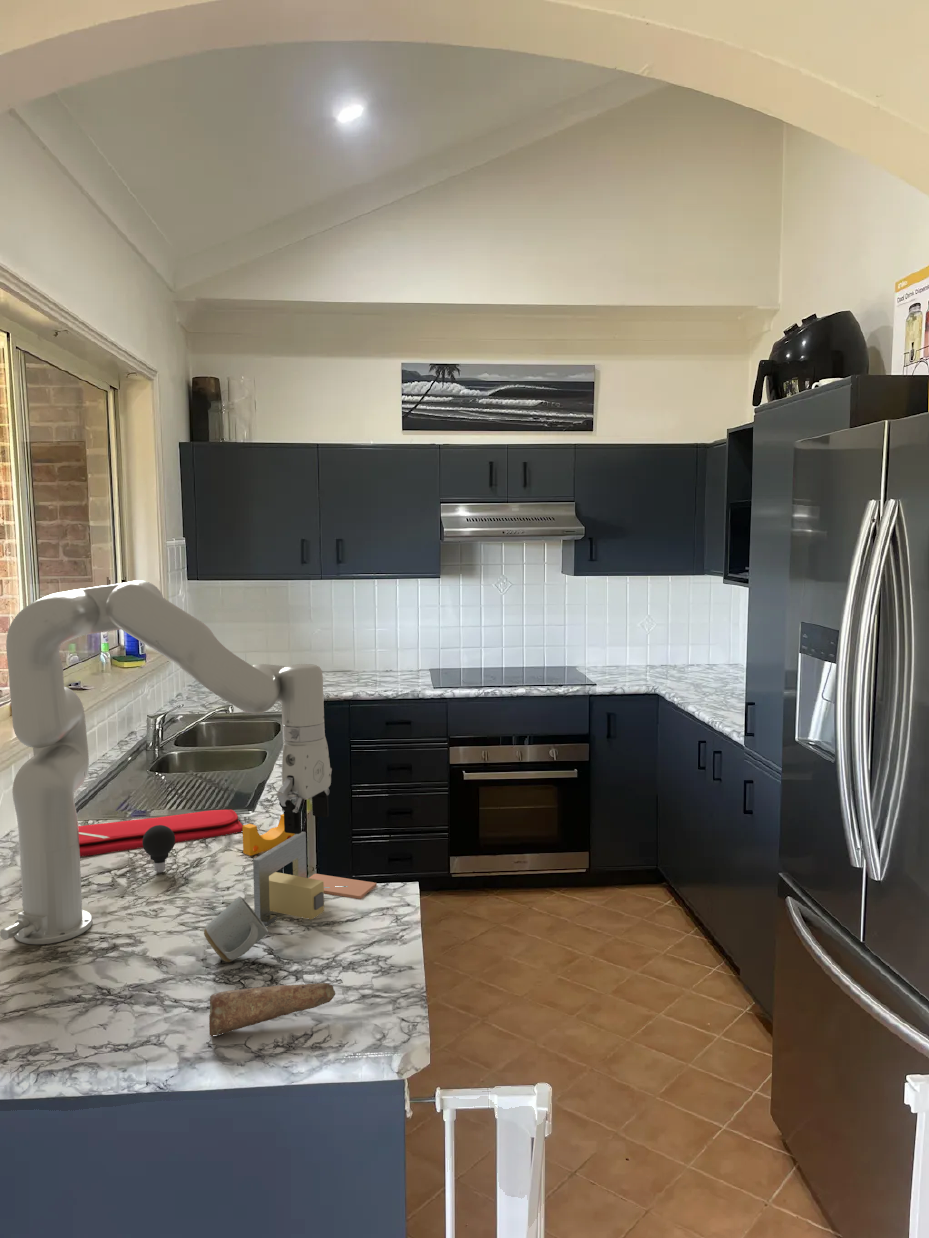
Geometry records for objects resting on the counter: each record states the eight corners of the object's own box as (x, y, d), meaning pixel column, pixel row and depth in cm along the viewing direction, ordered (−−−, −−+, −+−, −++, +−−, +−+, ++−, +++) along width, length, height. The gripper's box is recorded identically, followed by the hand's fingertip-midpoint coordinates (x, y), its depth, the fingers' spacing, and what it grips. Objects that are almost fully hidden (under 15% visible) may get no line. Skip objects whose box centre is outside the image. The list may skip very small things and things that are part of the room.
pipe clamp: (283, 838, 205) (282, 811, 205) (294, 842, 202) (294, 815, 202) (238, 852, 196) (237, 823, 196) (250, 857, 193) (249, 828, 193)
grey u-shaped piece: (267, 926, 159) (265, 861, 158) (248, 923, 160) (246, 858, 159) (313, 892, 174) (312, 833, 172) (295, 890, 175) (294, 830, 174)
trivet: (360, 899, 171) (360, 896, 170) (296, 889, 175) (296, 886, 175) (376, 885, 177) (376, 882, 177) (314, 876, 182) (314, 873, 182)
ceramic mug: (227, 963, 148) (200, 926, 149) (269, 930, 151) (242, 893, 152) (225, 970, 138) (196, 930, 139) (269, 935, 141) (240, 895, 142)
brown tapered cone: (204, 1025, 127) (203, 984, 126) (328, 999, 134) (327, 960, 133) (210, 1049, 121) (209, 1006, 120) (339, 1020, 128) (339, 980, 128)
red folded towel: (245, 835, 209) (244, 819, 208) (52, 864, 191) (51, 847, 190) (231, 816, 223) (230, 801, 222) (50, 841, 205) (49, 825, 204)
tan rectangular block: (314, 921, 161) (313, 889, 161) (257, 909, 166) (257, 878, 166) (326, 912, 165) (325, 881, 164) (271, 901, 170) (270, 870, 170)
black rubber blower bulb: (165, 864, 189) (163, 818, 188) (182, 872, 184) (180, 825, 184) (137, 873, 184) (135, 826, 183) (154, 881, 180) (152, 833, 179)
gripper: (296, 745, 152) (300, 842, 154) (344, 723, 168) (347, 812, 170) (259, 742, 155) (263, 837, 157) (310, 721, 171) (313, 808, 173)
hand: (307, 824), depth 163 cm, fingers open, 9 cm apart
